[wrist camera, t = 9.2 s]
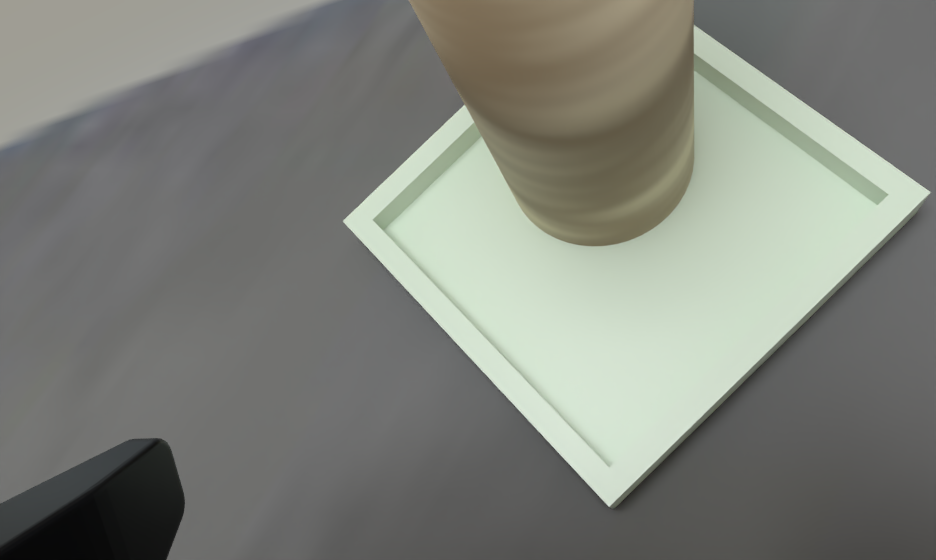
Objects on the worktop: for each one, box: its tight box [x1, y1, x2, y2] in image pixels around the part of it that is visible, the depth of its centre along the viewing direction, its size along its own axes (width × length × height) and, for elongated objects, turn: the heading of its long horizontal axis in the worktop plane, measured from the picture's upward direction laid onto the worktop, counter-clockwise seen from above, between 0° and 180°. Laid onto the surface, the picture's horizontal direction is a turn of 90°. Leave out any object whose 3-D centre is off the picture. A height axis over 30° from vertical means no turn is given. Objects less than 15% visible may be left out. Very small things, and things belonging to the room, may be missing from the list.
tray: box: [343, 25, 931, 509], centre depth 20 cm, size 10×10×1 cm
